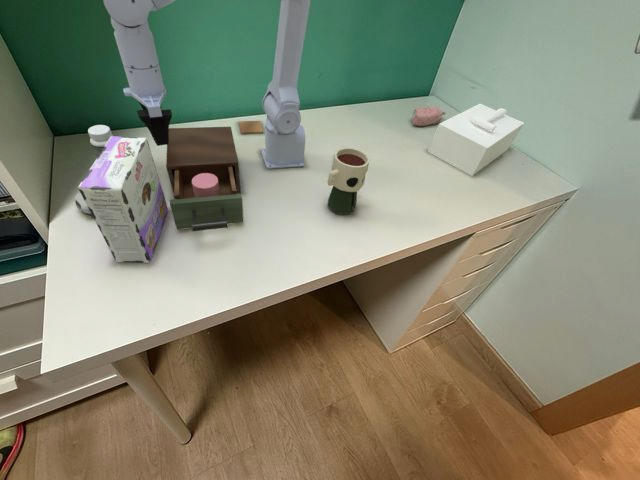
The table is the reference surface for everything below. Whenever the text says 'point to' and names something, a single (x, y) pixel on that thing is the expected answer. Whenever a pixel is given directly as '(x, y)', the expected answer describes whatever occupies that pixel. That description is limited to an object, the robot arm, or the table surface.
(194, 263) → the table surface
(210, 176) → the pink short cylinder
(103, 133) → the pill bottle
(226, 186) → the drawer
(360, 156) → the character mug
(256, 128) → the cork mat
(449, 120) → the white slanted box
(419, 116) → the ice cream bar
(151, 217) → the candy box
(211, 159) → the cabinet
